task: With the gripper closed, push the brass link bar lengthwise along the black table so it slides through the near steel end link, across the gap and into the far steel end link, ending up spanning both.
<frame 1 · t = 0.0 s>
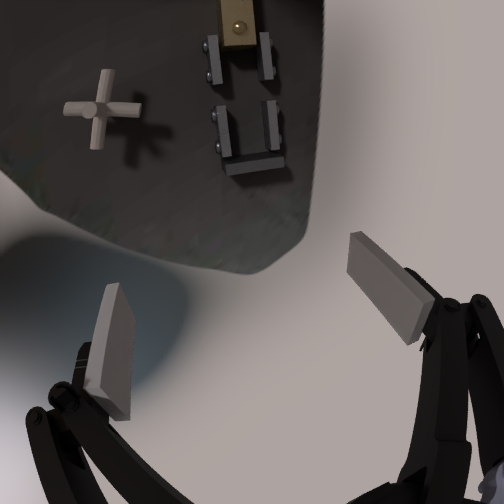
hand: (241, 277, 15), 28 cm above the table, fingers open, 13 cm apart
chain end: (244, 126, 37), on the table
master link: (230, 6, 28), on the table
pipe connector: (111, 107, 31), on the table
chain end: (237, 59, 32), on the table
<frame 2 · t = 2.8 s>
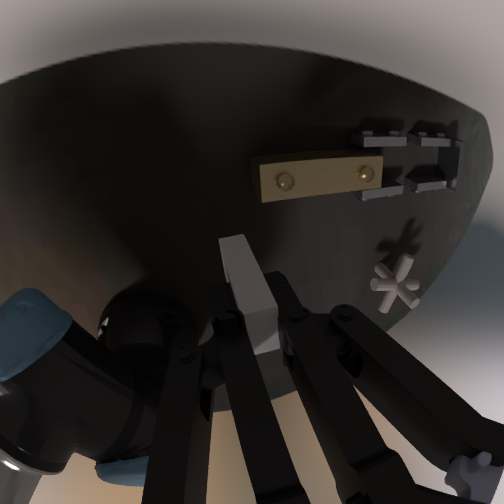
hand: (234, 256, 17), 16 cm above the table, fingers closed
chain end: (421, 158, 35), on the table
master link: (310, 166, 33), on the table
pipe connector: (378, 266, 44), on the table
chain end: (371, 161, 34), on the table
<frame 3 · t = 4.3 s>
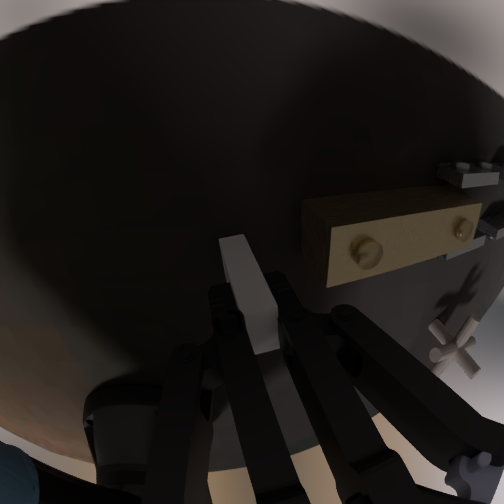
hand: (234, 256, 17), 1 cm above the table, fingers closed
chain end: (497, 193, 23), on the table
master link: (385, 212, 20), on the table
pipe connector: (432, 323, 32), on the table
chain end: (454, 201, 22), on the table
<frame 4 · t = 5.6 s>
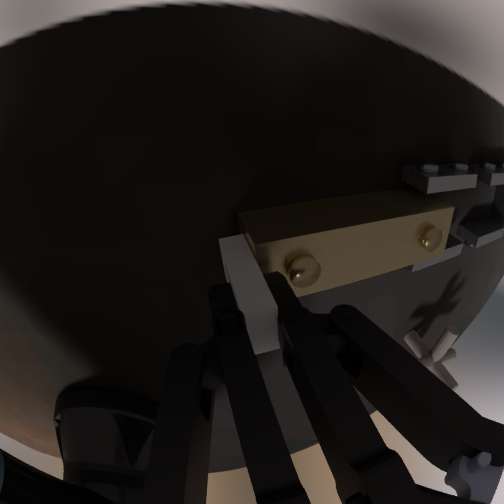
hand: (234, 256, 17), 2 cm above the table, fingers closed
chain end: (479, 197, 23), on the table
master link: (340, 220, 20), on the table, touching gripper
pipe connector: (408, 334, 31), on the table
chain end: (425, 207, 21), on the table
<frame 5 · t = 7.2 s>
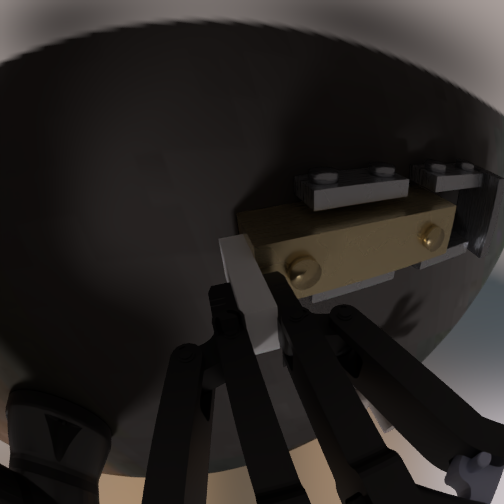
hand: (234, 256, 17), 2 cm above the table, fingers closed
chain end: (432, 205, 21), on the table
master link: (341, 220, 20), on the table, touching gripper
pipe connector: (350, 359, 30), on the table
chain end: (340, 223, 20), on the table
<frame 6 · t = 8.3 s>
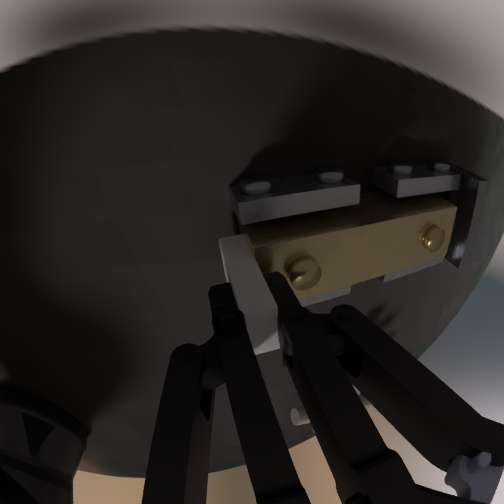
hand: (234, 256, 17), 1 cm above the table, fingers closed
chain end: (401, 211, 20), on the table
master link: (342, 220, 20), on the table, touching gripper
pipe connector: (319, 370, 29), on the table
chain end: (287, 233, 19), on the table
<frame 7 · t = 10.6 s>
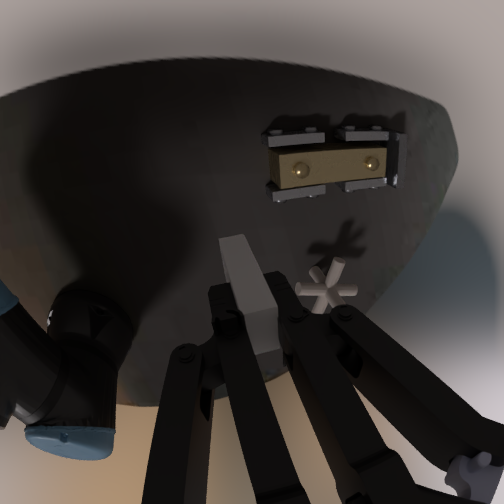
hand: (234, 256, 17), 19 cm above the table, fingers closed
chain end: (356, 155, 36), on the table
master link: (322, 157, 36), on the table
pipe connector: (313, 270, 45), on the table
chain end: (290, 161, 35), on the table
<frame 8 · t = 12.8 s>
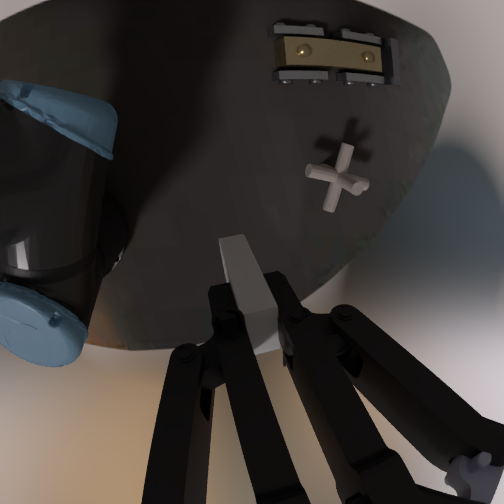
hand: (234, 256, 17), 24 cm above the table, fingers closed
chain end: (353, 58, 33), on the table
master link: (322, 56, 33), on the table
pipe connector: (322, 168, 42), on the table
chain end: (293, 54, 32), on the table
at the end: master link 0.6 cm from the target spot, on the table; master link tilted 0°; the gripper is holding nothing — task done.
